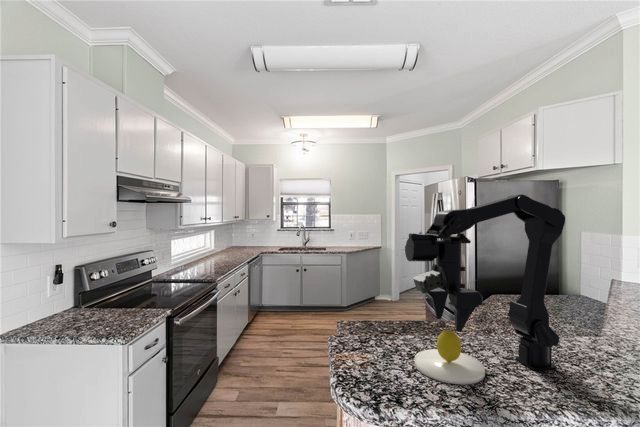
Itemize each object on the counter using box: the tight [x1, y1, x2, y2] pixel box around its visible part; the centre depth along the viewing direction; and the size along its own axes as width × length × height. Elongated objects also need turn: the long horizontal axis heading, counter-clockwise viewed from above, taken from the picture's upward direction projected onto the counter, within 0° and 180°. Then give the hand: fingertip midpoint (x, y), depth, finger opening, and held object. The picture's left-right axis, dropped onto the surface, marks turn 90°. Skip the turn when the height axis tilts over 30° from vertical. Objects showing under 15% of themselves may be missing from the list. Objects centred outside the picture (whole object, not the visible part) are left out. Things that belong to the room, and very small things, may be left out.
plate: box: [414, 348, 486, 385], centre depth 80 cm, size 16×16×1 cm
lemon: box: [436, 329, 462, 363], centre depth 80 cm, size 6×6×8 cm
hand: (448, 324), depth 80 cm, fingers open, 9 cm apart
